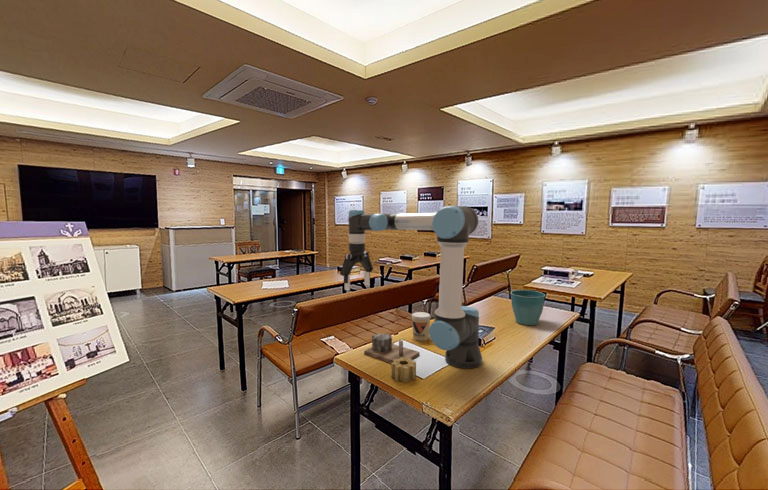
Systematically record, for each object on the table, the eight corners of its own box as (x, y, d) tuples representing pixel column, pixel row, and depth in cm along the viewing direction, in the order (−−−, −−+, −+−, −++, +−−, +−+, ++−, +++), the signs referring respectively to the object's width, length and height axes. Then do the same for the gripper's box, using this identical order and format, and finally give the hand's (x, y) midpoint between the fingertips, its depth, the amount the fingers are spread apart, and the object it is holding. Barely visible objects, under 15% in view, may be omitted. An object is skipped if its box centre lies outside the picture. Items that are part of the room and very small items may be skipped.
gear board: (419, 355, 144) (419, 337, 144) (401, 366, 134) (401, 347, 133) (383, 344, 157) (383, 328, 156) (364, 354, 146) (364, 336, 145)
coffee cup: (409, 339, 162) (409, 316, 161) (414, 333, 171) (414, 311, 170) (427, 342, 159) (427, 318, 158) (432, 336, 168) (432, 313, 167)
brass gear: (420, 375, 126) (420, 361, 126) (406, 385, 119) (406, 370, 118) (400, 368, 132) (400, 355, 132) (386, 377, 125) (386, 363, 124)
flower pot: (505, 323, 186) (506, 294, 185) (513, 315, 201) (514, 288, 199) (540, 329, 176) (542, 298, 174) (546, 321, 191) (547, 292, 189)
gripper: (368, 240, 166) (368, 282, 168) (331, 244, 146) (332, 291, 148) (380, 241, 161) (380, 284, 163) (343, 245, 142) (344, 293, 144)
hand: (357, 287), depth 156 cm, fingers open, 13 cm apart
